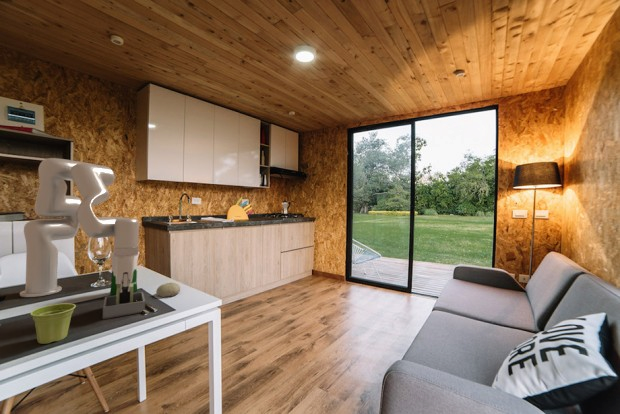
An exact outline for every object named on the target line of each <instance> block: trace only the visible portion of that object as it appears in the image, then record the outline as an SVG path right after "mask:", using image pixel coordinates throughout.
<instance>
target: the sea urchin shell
mask: <svg viewBox="0 0 620 414" xmlns="http://www.w3.org/2000/svg"><path fill="white" fill-rule="evenodd" d="M180 291H181V286H180V285H179V284H178V283H176V282H166V283H163V284H161V285H160V286H158V287H157V289H156V295H157V296H159V297H161V298H168V297H174V296H176V295H178V294H179V293H180Z"/></svg>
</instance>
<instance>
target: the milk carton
mask: <svg viewBox="0 0 620 414" xmlns="http://www.w3.org/2000/svg"><path fill="white" fill-rule="evenodd" d="M109 256H110V259H111V276H110V277H111V279H110V281H111V282H110V283H111V284H110V289H109V291H110V292H109V295H110V296H116V293H117V285H116V262H117V257H114V251H113V252H110V253H109ZM139 256H140V251H138V255H137V256H134V270H133V279H132V283H133V293H138V282H137V279H138V271H137V270H138V261H139V260H138V259H139ZM118 285H121V283H120V284H118Z"/></svg>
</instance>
